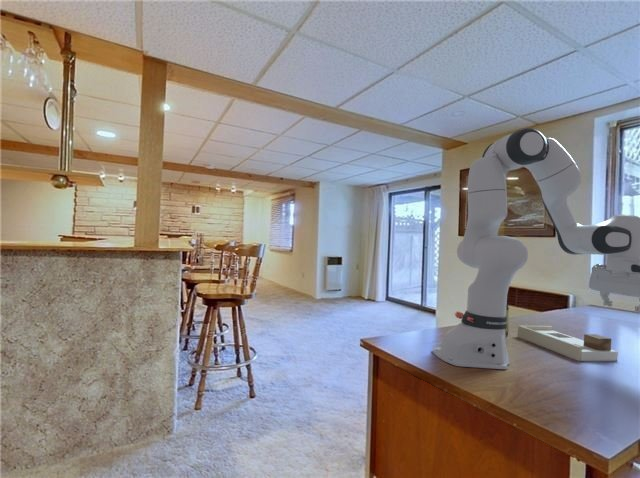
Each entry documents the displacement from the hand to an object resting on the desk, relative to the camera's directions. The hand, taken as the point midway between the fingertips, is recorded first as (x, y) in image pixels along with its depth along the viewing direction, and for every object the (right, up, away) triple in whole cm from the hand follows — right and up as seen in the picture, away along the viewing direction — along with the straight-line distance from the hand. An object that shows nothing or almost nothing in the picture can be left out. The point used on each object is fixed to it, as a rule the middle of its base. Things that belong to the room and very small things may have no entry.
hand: (623, 309), depth 103 cm
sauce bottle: (-23, -17, +30) cm, 41 cm away
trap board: (-7, -18, +16) cm, 25 cm away
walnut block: (-2, -15, +7) cm, 17 cm away
